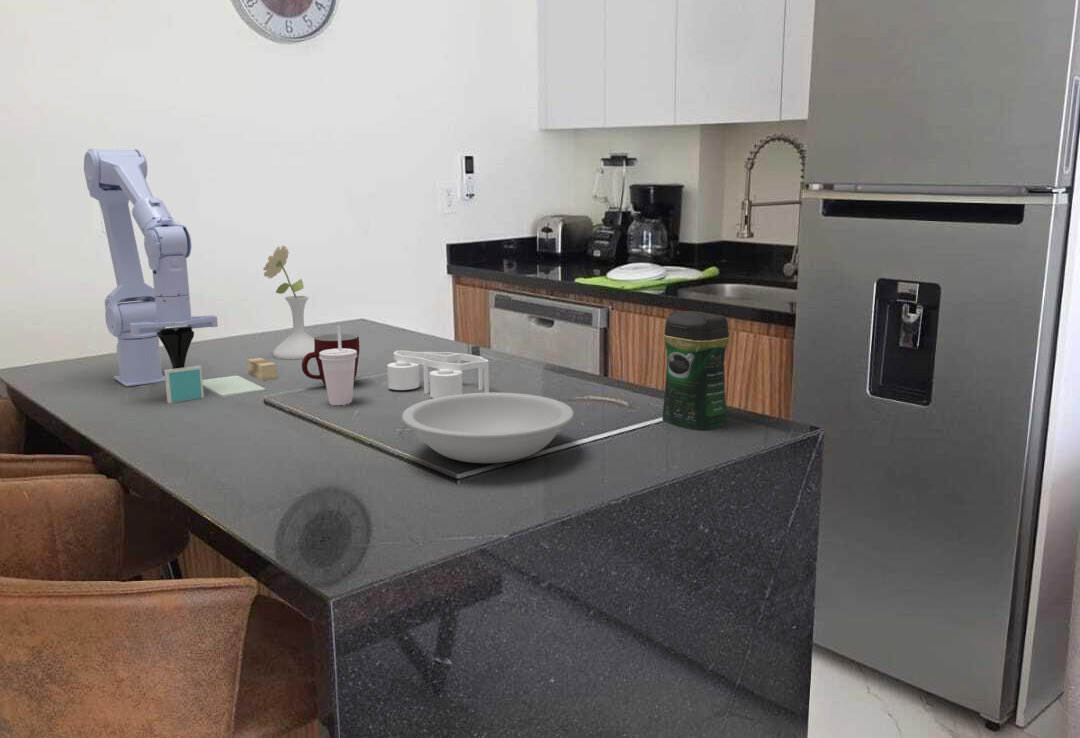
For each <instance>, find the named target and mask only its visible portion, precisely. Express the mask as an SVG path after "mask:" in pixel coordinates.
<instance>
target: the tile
mask: <svg viewBox="0 0 1080 738" xmlns="http://www.w3.org/2000/svg"><path fill="white" fill-rule="evenodd" d="M202 369H203V368H202V366H201V365H193V366H184V367H183V368H175V369H173V368H168V369H164V376H165V389H166V401H167V403H168V404H169V405H170V404H175V403H179V402H186V400H187V401H193V400H197V399H202V398H204V397H205V395H204V387H203V381H202V380H203V373H202Z"/></svg>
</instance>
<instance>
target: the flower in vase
mask: <svg viewBox="0 0 1080 738" xmlns="http://www.w3.org/2000/svg"><path fill="white" fill-rule="evenodd" d="M289 253H290V251H289V248H287V247H286V246H285V245H284V244H283V245H281V247H280V246H277V247H276V248H275V249H274V251H273V254H272V255H269V256H268V258H267V260H268V261H267V262H266V263H265V266H264V267H263V271H264V273H263V276H264V277H266V278H268V279H269V280H270V279H273V278H274V277H276V276H277V275H278V274H279V273H281V271H282V270H283V272H284V274H285V277H286V280H287V282H283V283H282V284H280V285H279V286H278V287H277V289H276V291H275V293H276V294H281V295H282V294H285V293H286V292H287V290H289V288H290V289H291V291H292V293H293V295H290V296H286V297H285V296H284V299H285V300H286V302H287V303H288V305H289V307H290V310H291V315H292V316H291V317H292V331H291V333H290V334H289V335H288V336H287V337H286V338H285V339H283V340H282V342H280V343H279V344H278V345H277V346H276V348H274V350H273V352H272V355H273V358H276V359H279V360H290V361H292V360H296V361H297V360H303V359H304V357H305V356H306V355H307V354H308V353H311V352H314V338H315V337H313V336H311V335H310V334H309V333H308V332H307V330H306V328H305V319H304V316H305V315H304V314H305V312H304V311H305V306H306V304H307V302H308V300H309V298H310V296H307V295H296V293H297V292H299V291H301V290H304V282H303V279H302V278H300V279H298V280H296V282H294V283H292V284H291V281H290V277H289V275H288V273H287V271H286V269H285V266H286V264H287V260H288V259H289V258H288V257H289Z"/></svg>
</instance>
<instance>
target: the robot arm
mask: <svg viewBox="0 0 1080 738" xmlns="http://www.w3.org/2000/svg"><path fill="white" fill-rule="evenodd" d="M83 157H84V159H83V172H84V177H85V182H86V188H87V190H88V192H89V197H91V198H93V199H95V200H96V201H98V203H99V206H100V209H101V215H102V219H103V222H104V227H105V228H104V229H105V233H106V238H107V243H108V248H109V252H110V257H111V262H112V267H113V270H114V271H113V272H114V276H115V280H116V281H115V282H116V287H115V288H114V289H113V290H112V291H111V292H109V294H108V295H107V296H106V297H105V299H104V308H105V311H104V312H105V313H104V314H105V324H106V328H107V330H108V332H109V333H110V334H111V335H112V336H113V337H115V338H117V344H116V356H117V366H118V375H114V376H113V378H114V380H116V381H117V382H119V383H120V384H121V385H123V386H124V387H132V386H141V385H148V384H149V385H150V384H156V383H164V382H163V381H165V375H163V373H162V359H161V349H160V342H161V343H162V344H163V346H164V348H165V351H166V352H167V354H168V357H169V361H170V363H171V366H172V369H175V368H183V367H186V366H185V365H186V364H185V363H186V360H187V354H188V351H189V348H190V345H191V343H192V341H193V339H194V336H195V331H194V330H193V329H201V328H202V329H203V328H217V327H218V326H219V325H218V324H219V323H218V316H217V315H215V314H214V315H195V316H192V311H191V298H190V287H189V286H190V285H189V276H188V275H189V273H188V263H187V260H188V258H189V257H190V255H191V252H192V239H191V234H190V232H189V230H188V228H187V226H186V225H184V224H181V223H180V222H176V221H174V218H173V217H172V215H171V213H170V211H169V210H168V209H167V207H166V204H165V203H164V202H163V200H161V199H160V198H158V197H155V196H153V193H152V190H151V189H150V186H149V185H148V182H147V175H148V164H147V163H148V162H147V158H146V157H145V154H144V153H143V152H142V151H141V150H140V149H134V150H133V149H94V148H89V149H87V151H86V152H85V154H84V156H83ZM130 202H131V204H132V205H133V207H132V210H131V211H130V207H129V203H130ZM131 214H132V216H131ZM132 217H133V219H134V221H135V223H136V224H137V226H138V228H139V229H140V231H141V233H142V235H143V236H144V238H143V239H144V240H143V242H144V243H143V245H144V250H145V251H144V252H145V254H146V256H147V259H148V260H147V261H148V266H149V269H150V270H152V279H153V280H152V282H153V286H151V285H149V284H147V283H146V282H145V279H144V276H143V275H144V274H143V269H142V266H141V265H142V264H141V260H140V256H139V251H138V245H137V240H136V235H135V230H134V226H133V221H132ZM165 382H166V381H165Z"/></svg>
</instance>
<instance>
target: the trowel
mask: <svg viewBox="0 0 1080 738" xmlns="http://www.w3.org/2000/svg"><path fill="white" fill-rule="evenodd" d="M246 367H247V369H246V370H247V374H248V375H250V376H251V377H253V378H256V379H257V380H260V381H262V382H264V381H265V382H266V381H271V380H277V378H278V377H277V364H276V363H274V362H271V361H269V360H266V359H265V358H262V357H256V358H249V359H248V358H247V359H246Z"/></svg>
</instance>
